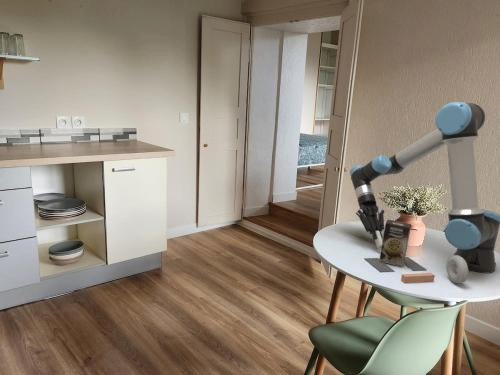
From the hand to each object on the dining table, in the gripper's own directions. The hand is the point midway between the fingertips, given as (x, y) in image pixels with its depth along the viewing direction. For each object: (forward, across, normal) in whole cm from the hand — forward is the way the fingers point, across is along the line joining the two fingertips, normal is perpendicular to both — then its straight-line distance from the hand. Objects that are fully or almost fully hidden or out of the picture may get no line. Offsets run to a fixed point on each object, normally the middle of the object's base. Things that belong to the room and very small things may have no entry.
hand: (380, 246), depth 163 cm
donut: (+22, -14, +17) cm, 31 cm away
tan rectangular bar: (+20, 0, +16) cm, 25 cm away
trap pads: (+10, 0, +6) cm, 12 cm away
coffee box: (+9, 0, +4) cm, 10 cm away
